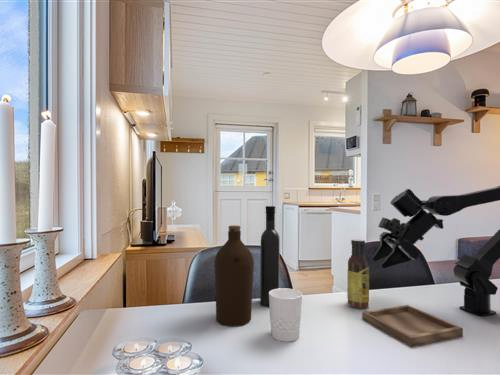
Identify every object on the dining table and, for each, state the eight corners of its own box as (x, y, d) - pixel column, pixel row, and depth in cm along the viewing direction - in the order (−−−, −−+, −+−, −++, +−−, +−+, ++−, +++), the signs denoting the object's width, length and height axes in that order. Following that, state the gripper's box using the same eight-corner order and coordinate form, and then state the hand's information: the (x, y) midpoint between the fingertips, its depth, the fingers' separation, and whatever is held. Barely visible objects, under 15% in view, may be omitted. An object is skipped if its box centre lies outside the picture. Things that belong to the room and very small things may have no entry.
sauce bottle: (366, 310, 88) (366, 242, 89) (345, 306, 91) (344, 240, 92) (371, 304, 94) (370, 239, 94) (350, 300, 97) (350, 238, 98)
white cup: (301, 345, 68) (301, 299, 68) (266, 341, 69) (266, 297, 69) (302, 329, 75) (302, 289, 76) (270, 326, 77) (271, 287, 77)
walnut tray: (407, 312, 87) (407, 305, 87) (462, 336, 72) (462, 328, 72) (362, 319, 82) (362, 311, 82) (411, 347, 67) (411, 337, 67)
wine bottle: (259, 306, 91) (260, 206, 92) (261, 299, 97) (262, 205, 98) (278, 307, 90) (279, 206, 91) (279, 300, 96) (279, 206, 97)
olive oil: (261, 320, 81) (262, 226, 81) (229, 331, 74) (230, 229, 75) (237, 308, 89) (237, 223, 90) (206, 318, 82) (207, 225, 83)
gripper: (386, 207, 101) (351, 239, 102) (408, 210, 83) (365, 249, 84) (411, 231, 100) (376, 264, 101) (439, 240, 81) (395, 279, 83)
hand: (377, 263), depth 92 cm, fingers open, 9 cm apart
